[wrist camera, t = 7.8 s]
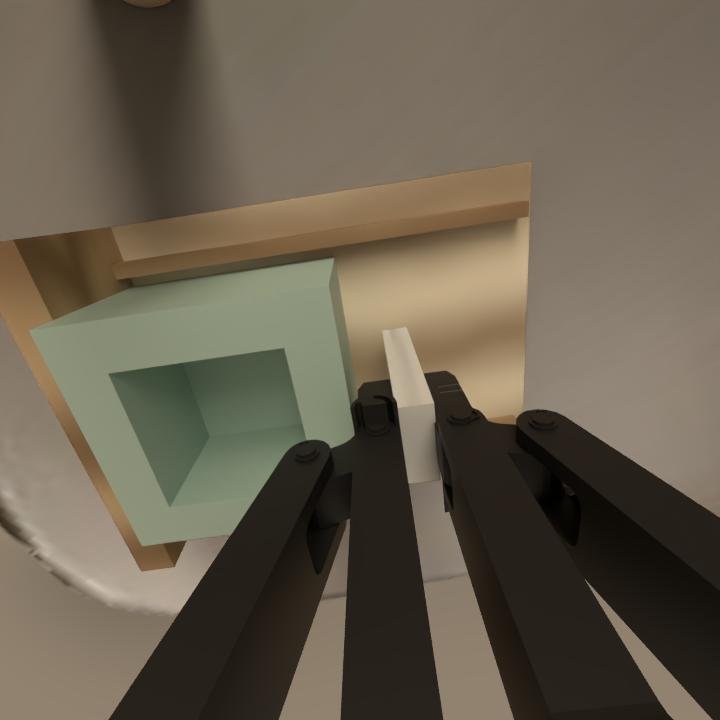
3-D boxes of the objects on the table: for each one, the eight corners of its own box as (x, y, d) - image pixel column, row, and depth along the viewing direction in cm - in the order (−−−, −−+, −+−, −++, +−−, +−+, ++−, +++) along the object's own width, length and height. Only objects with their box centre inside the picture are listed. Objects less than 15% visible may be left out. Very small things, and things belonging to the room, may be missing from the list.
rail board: (91, 230, 17) (-37, 247, 11) (521, 163, 16) (612, 145, 11) (192, 478, 22) (141, 571, 17) (514, 433, 22) (571, 514, 16)
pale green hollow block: (133, 286, 17) (28, 330, 11) (334, 255, 16) (328, 285, 11) (197, 451, 20) (142, 546, 15) (363, 427, 20) (369, 515, 14)
